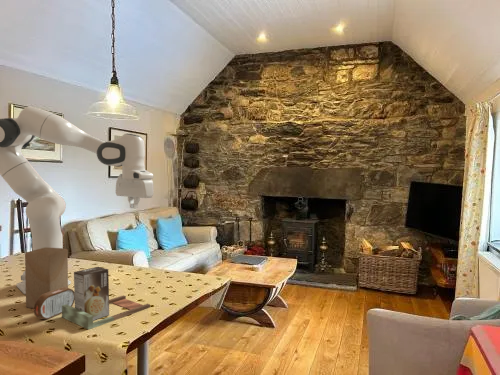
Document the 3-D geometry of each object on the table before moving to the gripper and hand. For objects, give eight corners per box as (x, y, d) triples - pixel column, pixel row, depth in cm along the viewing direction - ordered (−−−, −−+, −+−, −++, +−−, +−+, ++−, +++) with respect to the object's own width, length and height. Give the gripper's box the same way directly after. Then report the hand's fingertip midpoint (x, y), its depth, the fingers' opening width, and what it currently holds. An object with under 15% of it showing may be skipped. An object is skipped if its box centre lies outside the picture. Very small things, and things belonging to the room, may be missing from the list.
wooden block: (49, 310, 132) (48, 254, 131) (25, 308, 134) (24, 252, 133) (68, 300, 142) (68, 248, 141) (45, 298, 144) (45, 247, 143)
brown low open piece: (62, 317, 126) (61, 305, 126) (123, 297, 146) (123, 287, 146) (88, 329, 117) (88, 317, 117) (150, 307, 136) (150, 296, 136)
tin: (70, 306, 136) (69, 283, 136) (76, 307, 135) (76, 284, 135) (32, 322, 122) (32, 296, 122) (40, 323, 121) (39, 298, 121)
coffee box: (99, 310, 132) (98, 265, 132) (109, 315, 129) (109, 269, 128) (73, 319, 125) (73, 271, 124) (84, 324, 121) (83, 274, 120)
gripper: (111, 173, 156) (111, 206, 156) (143, 174, 144) (143, 210, 144) (124, 173, 161) (124, 205, 162) (156, 174, 149) (156, 209, 150)
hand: (133, 208), depth 153 cm, fingers closed
